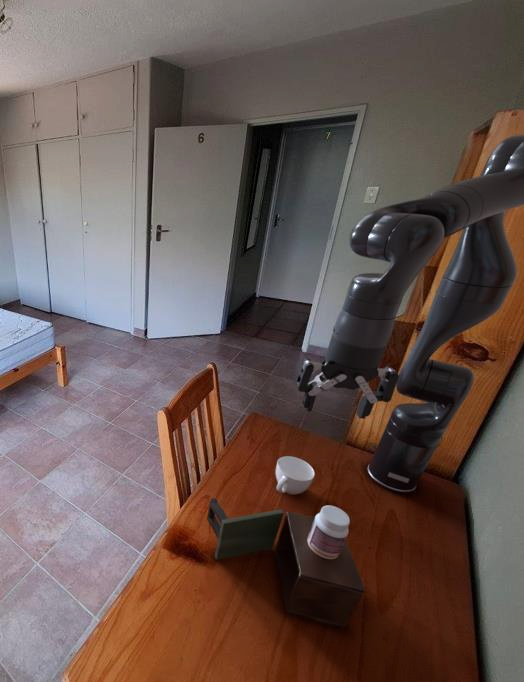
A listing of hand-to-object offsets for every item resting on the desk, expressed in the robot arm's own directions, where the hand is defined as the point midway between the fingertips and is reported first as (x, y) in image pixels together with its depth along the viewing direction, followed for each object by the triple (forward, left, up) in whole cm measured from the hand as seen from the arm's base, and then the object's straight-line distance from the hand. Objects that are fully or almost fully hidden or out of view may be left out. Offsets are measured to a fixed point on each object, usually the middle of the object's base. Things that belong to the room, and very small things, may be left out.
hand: (333, 412), depth 68 cm
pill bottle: (+12, +10, -19) cm, 24 cm away
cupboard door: (+16, -3, -30) cm, 34 cm away
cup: (-5, -6, -30) cm, 31 cm away
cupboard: (+12, +10, -30) cm, 34 cm away
